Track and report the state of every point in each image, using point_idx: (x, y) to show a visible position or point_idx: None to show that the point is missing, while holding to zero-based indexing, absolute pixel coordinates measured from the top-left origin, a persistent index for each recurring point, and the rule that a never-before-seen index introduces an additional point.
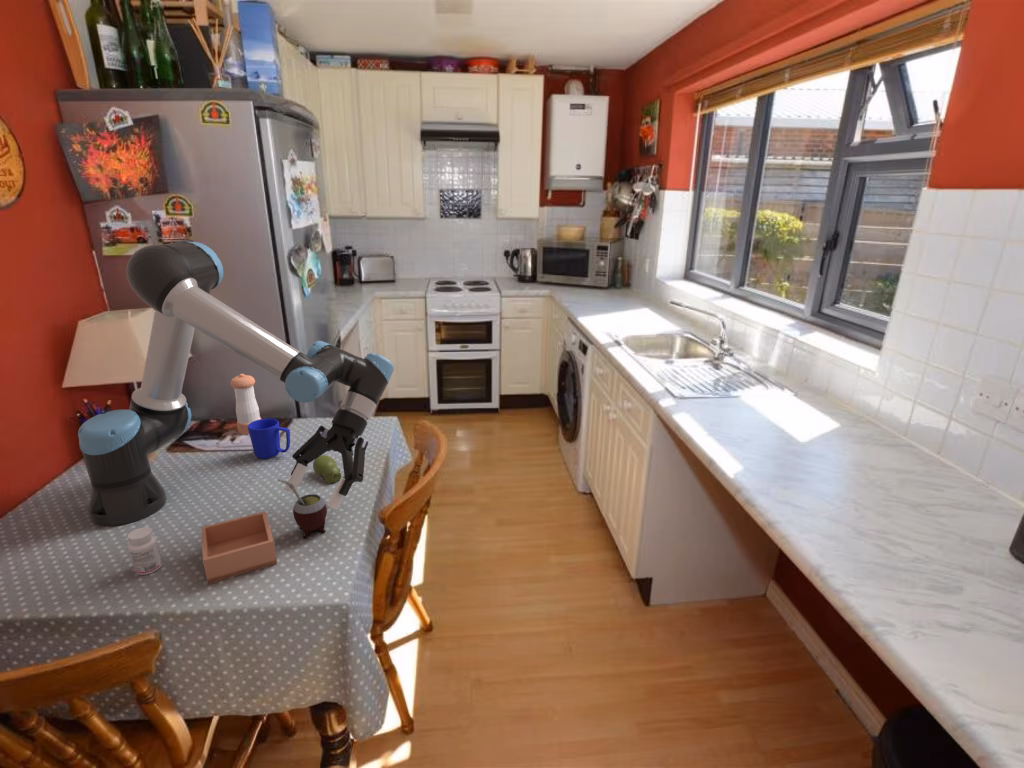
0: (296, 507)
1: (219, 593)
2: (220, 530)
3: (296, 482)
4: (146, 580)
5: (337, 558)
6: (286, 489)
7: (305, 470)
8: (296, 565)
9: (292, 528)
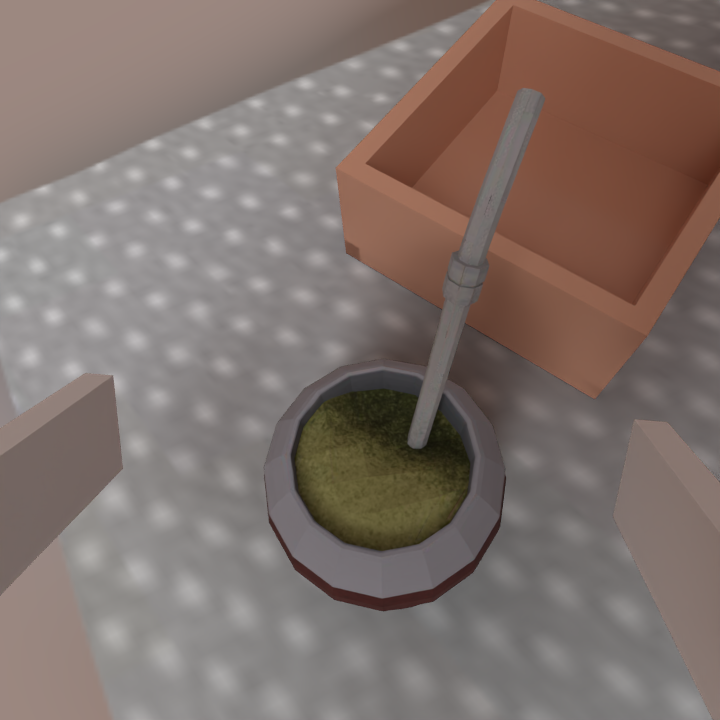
0: (416, 366)
1: (408, 83)
2: (717, 173)
3: (655, 541)
4: (699, 30)
5: None
6: (638, 422)
7: (716, 703)
8: (259, 277)
9: (510, 481)
